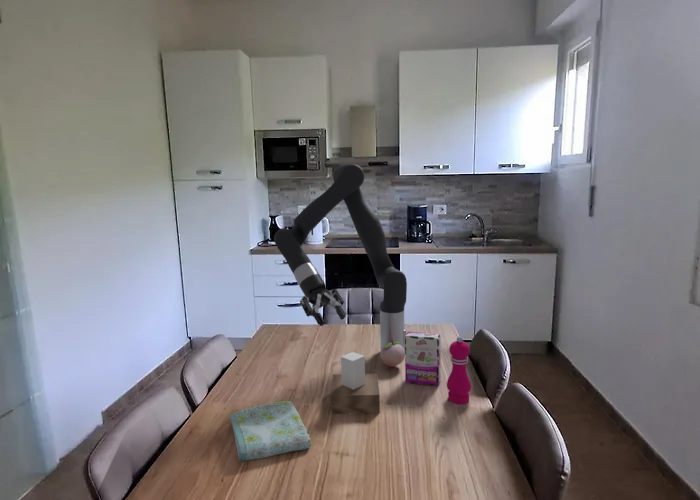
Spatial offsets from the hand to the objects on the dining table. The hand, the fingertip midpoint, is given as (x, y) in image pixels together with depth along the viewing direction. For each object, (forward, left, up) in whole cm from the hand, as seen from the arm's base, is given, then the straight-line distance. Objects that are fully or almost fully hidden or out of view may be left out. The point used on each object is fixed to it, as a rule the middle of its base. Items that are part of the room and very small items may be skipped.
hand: (333, 321), depth 140 cm
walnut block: (-5, +8, -24) cm, 26 cm away
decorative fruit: (-23, -12, -24) cm, 36 cm away
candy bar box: (-29, +1, -24) cm, 38 cm away
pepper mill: (-35, +15, -24) cm, 45 cm away
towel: (+22, +19, -24) cm, 38 cm away
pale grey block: (-4, +8, -18) cm, 20 cm away
